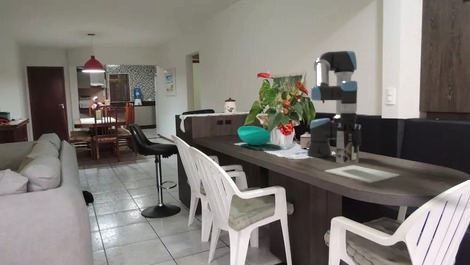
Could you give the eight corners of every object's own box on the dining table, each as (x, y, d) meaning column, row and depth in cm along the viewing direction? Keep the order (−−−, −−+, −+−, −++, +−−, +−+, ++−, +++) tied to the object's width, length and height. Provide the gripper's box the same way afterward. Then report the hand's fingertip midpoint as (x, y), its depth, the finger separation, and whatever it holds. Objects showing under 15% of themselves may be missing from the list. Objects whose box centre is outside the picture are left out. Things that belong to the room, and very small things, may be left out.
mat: (324, 171, 164) (324, 170, 164) (352, 166, 176) (352, 165, 176) (370, 182, 143) (370, 181, 143) (399, 175, 154) (399, 174, 154)
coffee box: (344, 164, 161) (345, 131, 159) (335, 162, 167) (336, 130, 165) (359, 162, 164) (359, 130, 163) (350, 160, 170) (350, 129, 169)
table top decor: (231, 143, 270) (230, 126, 268) (261, 140, 280) (261, 125, 279) (251, 150, 233) (251, 131, 232) (285, 147, 244) (285, 129, 242)
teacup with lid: (307, 150, 231) (307, 133, 230) (297, 148, 238) (297, 132, 237) (318, 148, 238) (318, 132, 237) (308, 146, 245) (308, 131, 244)
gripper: (327, 112, 169) (326, 156, 172) (361, 113, 153) (359, 162, 155) (337, 111, 173) (336, 154, 176) (371, 112, 157) (369, 160, 159)
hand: (347, 158), depth 165 cm, fingers closed on coffee box, 7 cm apart
